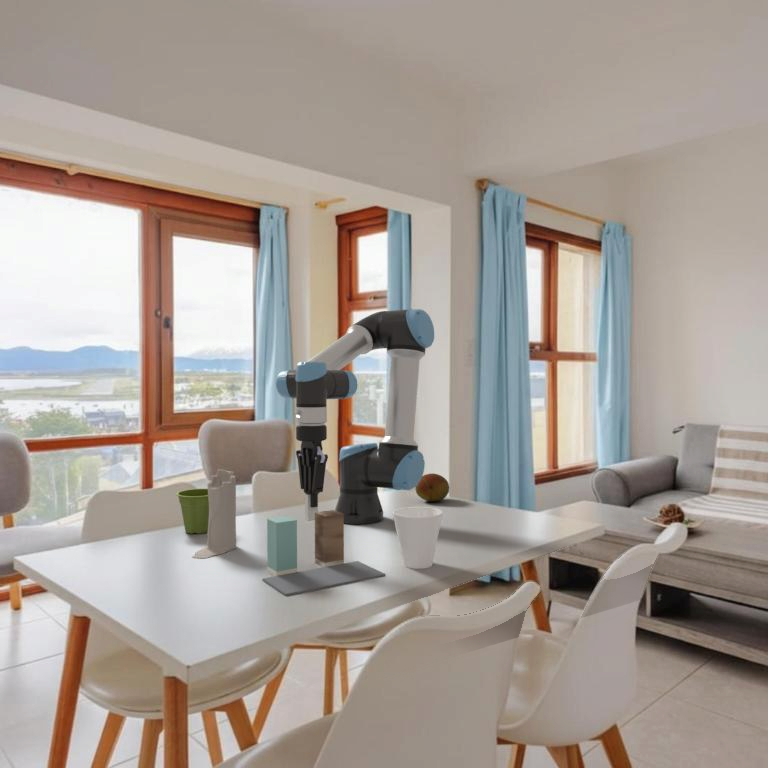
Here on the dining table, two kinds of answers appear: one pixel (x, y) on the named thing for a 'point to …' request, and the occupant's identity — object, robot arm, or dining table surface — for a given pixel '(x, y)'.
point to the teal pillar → (282, 545)
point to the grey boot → (220, 515)
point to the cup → (417, 535)
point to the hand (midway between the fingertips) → (311, 519)
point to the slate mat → (322, 578)
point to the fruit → (432, 487)
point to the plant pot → (195, 510)
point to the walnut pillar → (329, 538)
